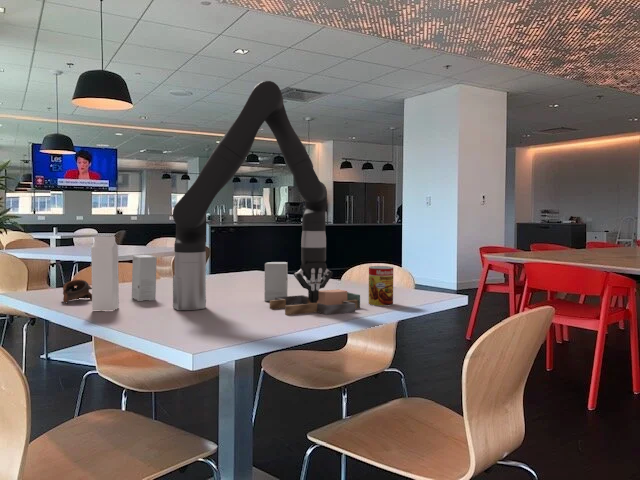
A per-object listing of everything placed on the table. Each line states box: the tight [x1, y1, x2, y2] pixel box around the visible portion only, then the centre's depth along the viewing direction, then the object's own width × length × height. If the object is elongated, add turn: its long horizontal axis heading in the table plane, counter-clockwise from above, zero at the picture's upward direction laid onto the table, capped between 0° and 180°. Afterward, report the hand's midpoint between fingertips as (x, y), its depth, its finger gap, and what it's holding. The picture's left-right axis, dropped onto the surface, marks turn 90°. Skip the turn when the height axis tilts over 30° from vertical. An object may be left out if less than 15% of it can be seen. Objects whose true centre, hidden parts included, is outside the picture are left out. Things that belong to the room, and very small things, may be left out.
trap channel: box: [269, 291, 361, 316], centre depth 158 cm, size 25×22×4 cm
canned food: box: [368, 265, 394, 307], centre depth 167 cm, size 8×8×12 cm
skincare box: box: [131, 254, 158, 302], centre depth 175 cm, size 8×6×15 cm
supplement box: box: [264, 261, 289, 302], centre depth 175 cm, size 7×7×13 cm
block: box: [317, 288, 348, 305], centre depth 161 cm, size 8×5×5 cm, turn 121°
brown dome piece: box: [62, 279, 92, 303], centre depth 170 cm, size 12×10×8 cm
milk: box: [90, 235, 120, 311], centre depth 154 cm, size 6×6×22 cm
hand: (313, 302), depth 158 cm, fingers closed
